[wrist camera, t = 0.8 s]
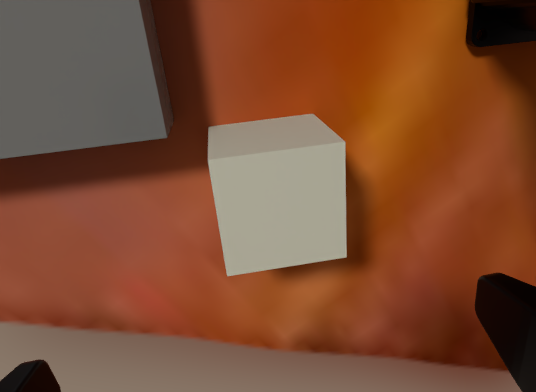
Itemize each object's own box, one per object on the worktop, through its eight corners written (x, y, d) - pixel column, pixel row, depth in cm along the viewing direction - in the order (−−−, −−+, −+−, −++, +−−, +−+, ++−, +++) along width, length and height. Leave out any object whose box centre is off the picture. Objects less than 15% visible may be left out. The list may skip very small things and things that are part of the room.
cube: (312, 113, 19) (345, 141, 14) (316, 206, 21) (346, 257, 16) (208, 126, 18) (207, 159, 14) (223, 220, 20) (227, 276, 16)
